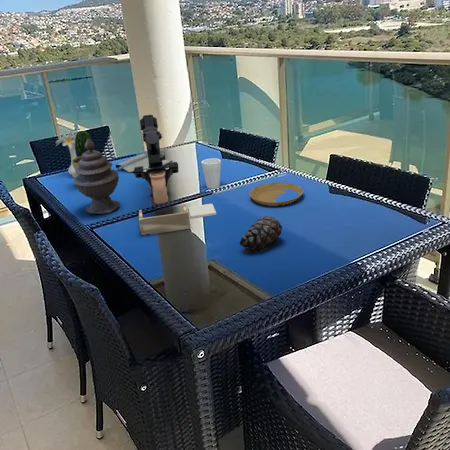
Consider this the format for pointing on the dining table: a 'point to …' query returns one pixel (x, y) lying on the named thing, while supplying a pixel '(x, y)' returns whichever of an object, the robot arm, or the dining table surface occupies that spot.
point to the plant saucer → (273, 193)
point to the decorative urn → (96, 180)
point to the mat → (138, 163)
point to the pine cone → (261, 234)
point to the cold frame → (164, 222)
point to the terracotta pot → (159, 186)
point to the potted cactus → (80, 146)
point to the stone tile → (201, 210)
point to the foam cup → (212, 172)
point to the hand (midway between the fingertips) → (159, 187)
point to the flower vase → (70, 142)
